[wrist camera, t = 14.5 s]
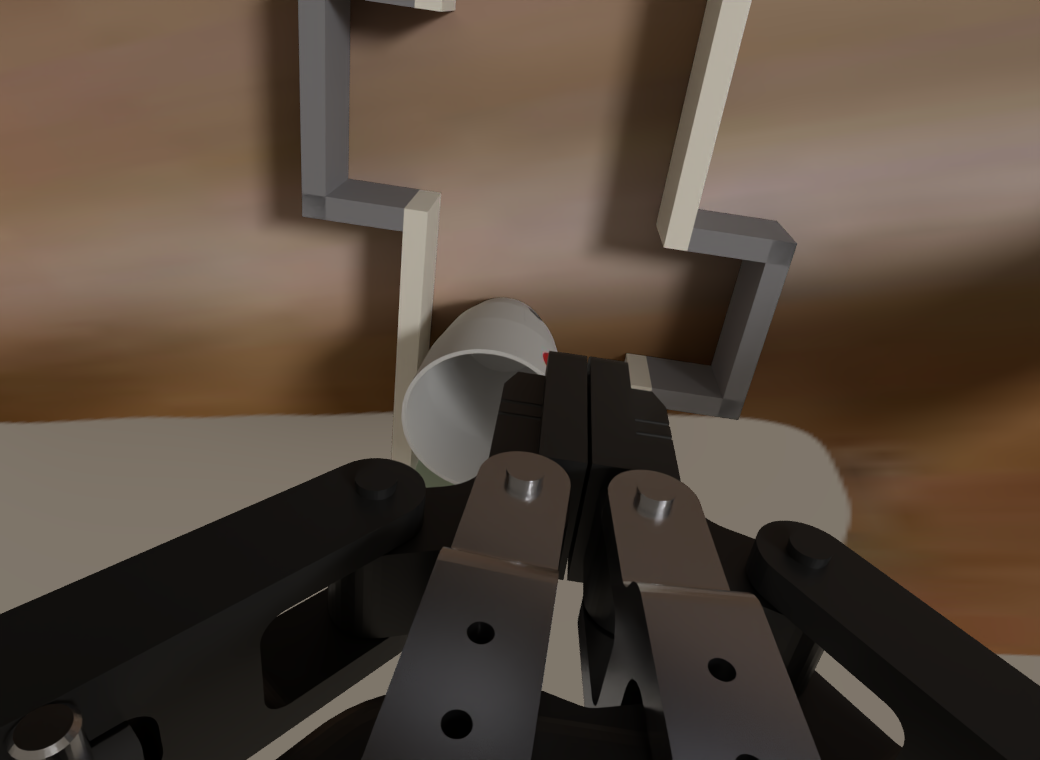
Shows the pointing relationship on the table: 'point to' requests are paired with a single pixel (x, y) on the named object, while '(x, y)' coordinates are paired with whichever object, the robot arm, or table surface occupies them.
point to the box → (676, 223)
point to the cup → (471, 384)
